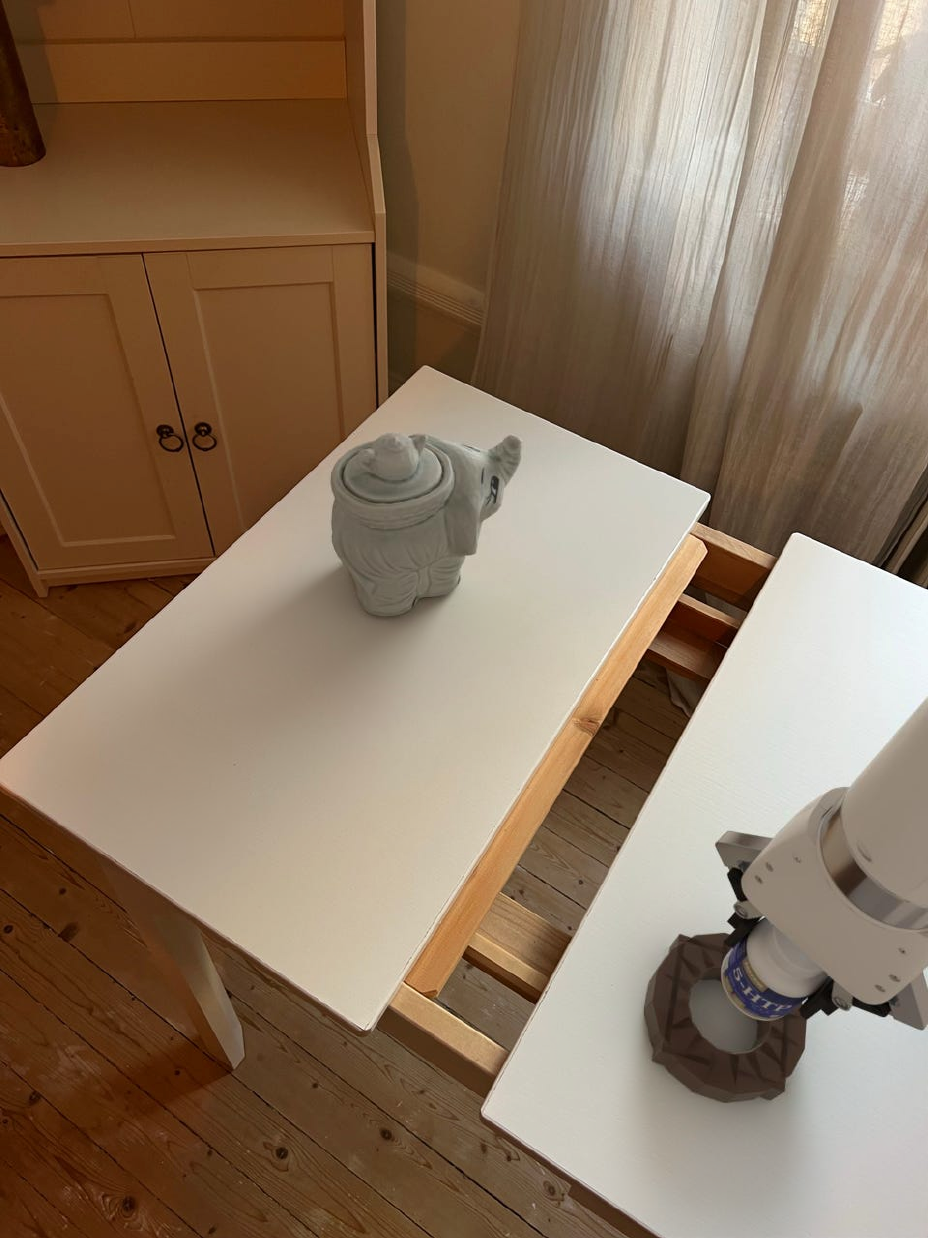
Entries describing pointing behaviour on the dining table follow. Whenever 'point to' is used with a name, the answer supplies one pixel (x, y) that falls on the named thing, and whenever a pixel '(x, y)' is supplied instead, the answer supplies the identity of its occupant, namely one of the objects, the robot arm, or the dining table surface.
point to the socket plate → (696, 1055)
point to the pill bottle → (769, 973)
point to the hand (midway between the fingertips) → (777, 964)
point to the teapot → (414, 513)
